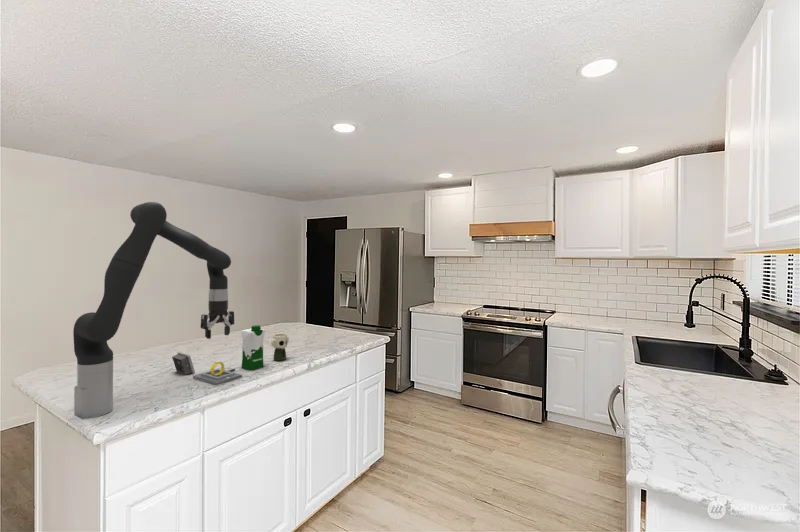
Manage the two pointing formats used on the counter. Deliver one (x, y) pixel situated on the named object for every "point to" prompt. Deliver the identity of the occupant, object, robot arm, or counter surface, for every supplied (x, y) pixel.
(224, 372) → the charging dock
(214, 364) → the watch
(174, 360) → the electrical switch
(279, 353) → the character mug
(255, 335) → the milk carton
